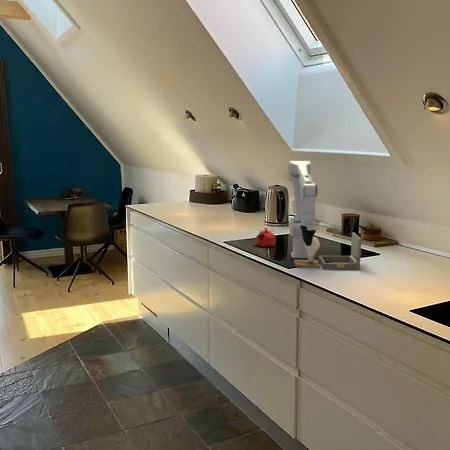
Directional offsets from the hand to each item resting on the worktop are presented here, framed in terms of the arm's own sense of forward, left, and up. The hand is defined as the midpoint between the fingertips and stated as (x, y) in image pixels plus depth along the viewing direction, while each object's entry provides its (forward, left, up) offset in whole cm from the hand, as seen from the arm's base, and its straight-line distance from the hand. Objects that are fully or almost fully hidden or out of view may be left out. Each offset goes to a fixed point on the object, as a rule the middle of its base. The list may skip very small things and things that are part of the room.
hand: (307, 243), depth 230 cm
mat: (0, 0, -9) cm, 9 cm away
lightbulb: (0, +2, -8) cm, 8 cm away
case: (+1, +13, -9) cm, 16 cm away
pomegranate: (-37, -16, -9) cm, 41 cm away
